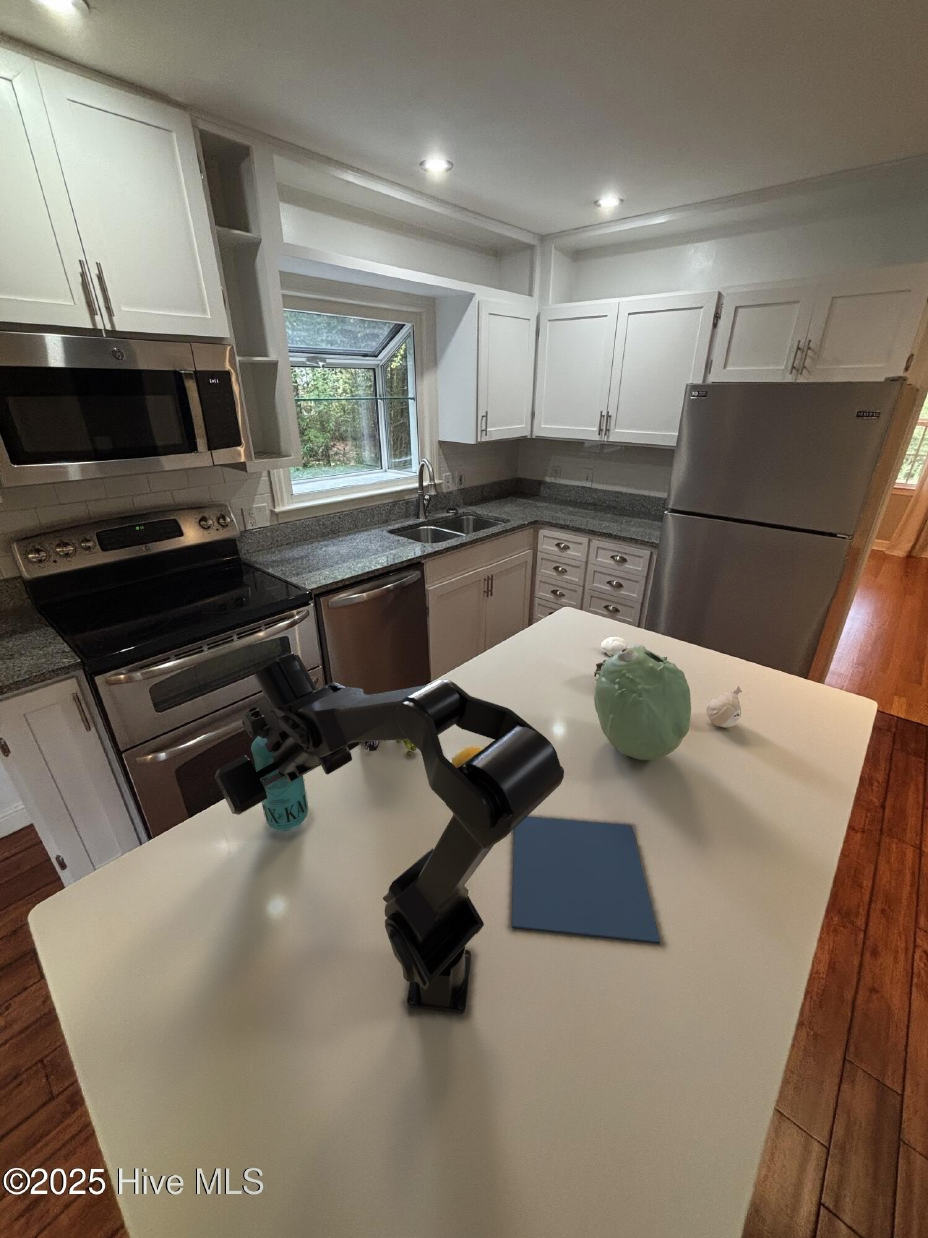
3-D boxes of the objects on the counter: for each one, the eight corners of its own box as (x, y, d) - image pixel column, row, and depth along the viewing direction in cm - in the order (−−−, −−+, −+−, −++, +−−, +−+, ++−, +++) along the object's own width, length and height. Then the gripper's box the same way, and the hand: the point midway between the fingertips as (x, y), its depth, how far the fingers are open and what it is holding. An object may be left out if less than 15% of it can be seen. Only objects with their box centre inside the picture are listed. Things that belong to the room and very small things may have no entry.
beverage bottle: (265, 814, 79) (241, 710, 71) (308, 801, 82) (290, 699, 73) (269, 845, 74) (244, 736, 66) (315, 830, 76) (296, 723, 68)
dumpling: (629, 654, 128) (632, 643, 125) (618, 664, 125) (620, 653, 122) (607, 641, 132) (609, 630, 129) (595, 650, 129) (597, 639, 126)
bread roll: (477, 800, 82) (477, 781, 80) (443, 771, 88) (443, 753, 86) (512, 776, 87) (513, 758, 85) (478, 751, 93) (478, 734, 91)
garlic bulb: (744, 733, 98) (754, 699, 94) (711, 733, 98) (720, 698, 94) (729, 713, 104) (737, 680, 100) (698, 713, 104) (705, 680, 100)
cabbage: (645, 796, 83) (665, 694, 74) (568, 735, 97) (577, 644, 89) (704, 762, 90) (728, 666, 82) (624, 710, 105) (637, 625, 96)
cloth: (659, 943, 61) (660, 941, 60) (511, 927, 62) (511, 925, 62) (631, 826, 77) (631, 825, 77) (514, 816, 79) (514, 815, 79)
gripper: (340, 661, 70) (308, 697, 81) (203, 720, 57) (188, 752, 69) (380, 730, 68) (341, 757, 79) (247, 807, 56) (224, 825, 67)
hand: (278, 770), depth 74 cm, fingers open, 9 cm apart
